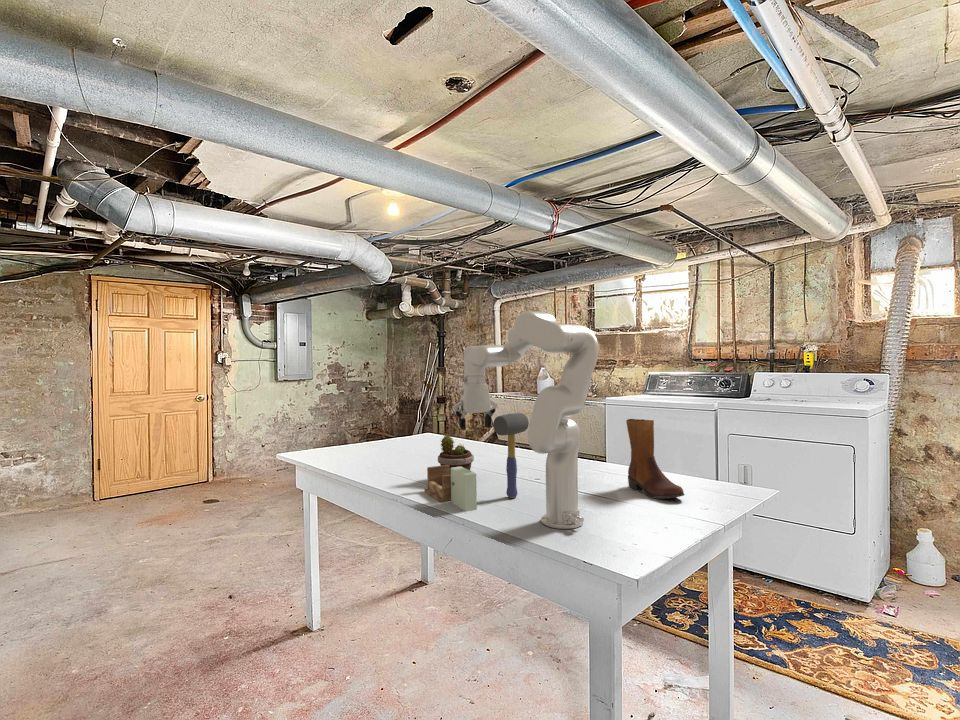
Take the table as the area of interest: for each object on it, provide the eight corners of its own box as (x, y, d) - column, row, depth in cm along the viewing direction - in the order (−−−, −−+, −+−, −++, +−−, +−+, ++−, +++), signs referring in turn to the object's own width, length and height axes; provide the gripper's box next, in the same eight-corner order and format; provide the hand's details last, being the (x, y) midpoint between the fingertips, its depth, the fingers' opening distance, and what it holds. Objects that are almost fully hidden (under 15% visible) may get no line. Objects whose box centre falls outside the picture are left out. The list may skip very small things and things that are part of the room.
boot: (689, 502, 171) (688, 423, 171) (666, 505, 169) (666, 424, 168) (644, 484, 195) (643, 415, 195) (623, 486, 193) (623, 416, 192)
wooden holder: (469, 498, 180) (469, 472, 180) (440, 502, 175) (440, 476, 175) (451, 487, 194) (451, 464, 194) (424, 491, 189) (424, 467, 189)
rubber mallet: (508, 503, 172) (506, 416, 172) (492, 499, 178) (491, 414, 177) (531, 496, 181) (530, 412, 181) (515, 492, 187) (514, 411, 186)
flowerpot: (475, 476, 211) (475, 429, 210) (472, 486, 195) (471, 435, 195) (441, 476, 212) (440, 429, 212) (434, 486, 197) (434, 435, 196)
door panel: (476, 509, 167) (476, 473, 166) (464, 511, 164) (463, 475, 164) (461, 500, 177) (461, 466, 177) (449, 502, 175) (449, 467, 175)
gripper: (456, 382, 173) (456, 431, 173) (501, 380, 180) (501, 428, 181) (448, 381, 180) (449, 428, 180) (492, 379, 187) (492, 425, 187)
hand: (475, 428), depth 180 cm, fingers open, 9 cm apart
